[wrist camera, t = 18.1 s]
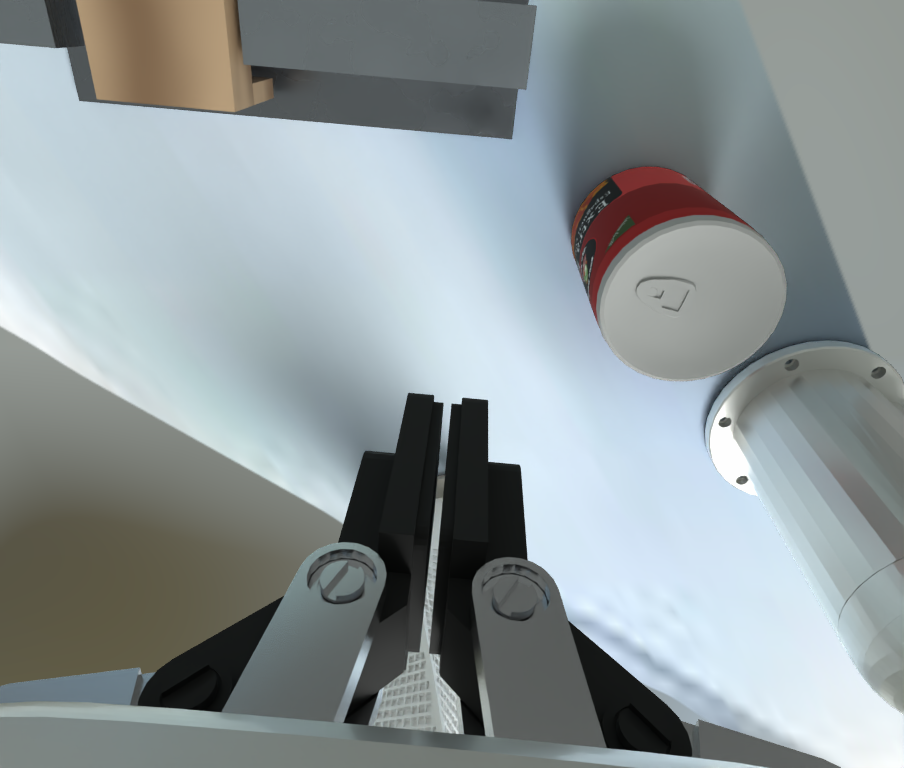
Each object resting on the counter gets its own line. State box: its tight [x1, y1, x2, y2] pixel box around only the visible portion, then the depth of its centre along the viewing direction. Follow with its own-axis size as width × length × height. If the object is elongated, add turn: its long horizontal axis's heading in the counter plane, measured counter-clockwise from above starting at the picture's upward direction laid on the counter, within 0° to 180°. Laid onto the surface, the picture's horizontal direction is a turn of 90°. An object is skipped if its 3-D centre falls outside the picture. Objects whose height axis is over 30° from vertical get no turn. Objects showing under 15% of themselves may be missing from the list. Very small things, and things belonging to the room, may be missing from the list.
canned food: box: [571, 167, 787, 381], centre depth 30 cm, size 8×8×11 cm
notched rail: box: [0, 0, 537, 139], centre depth 27 cm, size 24×9×7 cm, turn 86°
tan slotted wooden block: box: [76, 0, 274, 112], centre depth 26 cm, size 6×6×6 cm
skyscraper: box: [374, 475, 459, 734], centre depth 36 cm, size 8×8×28 cm
